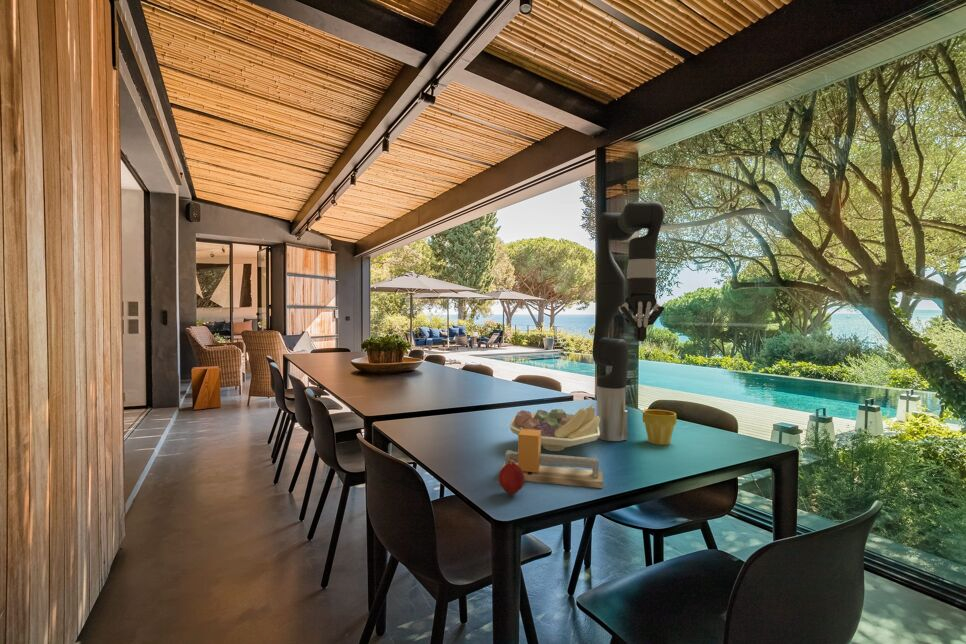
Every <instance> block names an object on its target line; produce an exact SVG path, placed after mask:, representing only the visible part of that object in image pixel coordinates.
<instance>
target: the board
mask: <svg viewBox="0 0 966 644" xmlns="http://www.w3.org/2000/svg"><path fill="white" fill-rule="evenodd" d="M515 464H517V465H518V462H515ZM504 466H505V462H504V463H503V465H502V467H501V469H502V468H503V467H504ZM501 469H500V470H499V472H498V474H499V473H500V471H501ZM523 474H524V479H525V480H524V482H534V483H535V482H536V483H541V484H542V483H543V484H544V483H545V484H553V485H555V484H557V485H563V486H565V485H566V486H575V487H585V488H596V489H604V479H603V470H599V476H598V478H593V477H592V469H587V468H576V467H564V466H553V465H542V464H540V468H539V471H538V472H527V471H523Z"/></svg>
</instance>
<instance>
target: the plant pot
mask: <svg viewBox="0 0 966 644" xmlns="http://www.w3.org/2000/svg"><path fill="white" fill-rule="evenodd" d="M642 422H643V423H644V426H645V430H646V436H647V441H648V442H649V443H651V444H653V445H659V446H660V445H661V446H666V445H667V446H669V445H670V444H671V440H672V436H673V432H674V427H675V426H676V425H677V413H676V412H674V411H670V410H664V409H644V410H643V411H642Z"/></svg>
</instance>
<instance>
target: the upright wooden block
mask: <svg viewBox="0 0 966 644" xmlns="http://www.w3.org/2000/svg"><path fill="white" fill-rule="evenodd" d="M517 437H518V438H517V439H518V441H517V446H518V447H517V452H518V462H517V463H518V466H519V467H520V468H521V469H522V471H527V472H538V471H539V468H540V465H541V464H539V454H542V453H541V451H542V448H541V447H542V445H541V430H531V429H521V431H520V433H519V434H518V435H517Z"/></svg>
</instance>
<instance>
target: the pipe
mask: <svg viewBox="0 0 966 644" xmlns="http://www.w3.org/2000/svg"><path fill="white" fill-rule="evenodd" d="M509 460H513V461H514V462H515V463H518V451H513V450H511V449H510V450H509V449H508V450H506V451H505V453H504V463H505V465H507V464H508V463H509V462H508V461H509ZM599 461H600V459H599V457H597V456H596V457H584V456H573V455H564V454H563V455H561V454H552V453H551V454H548V453H541V454H539V464H540V465H545V466H556V467H568V468H579V469H591V470H592V477H593V478H598V476H599V471H600V470H599V466H600V464H599V463H600V462H599Z"/></svg>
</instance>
